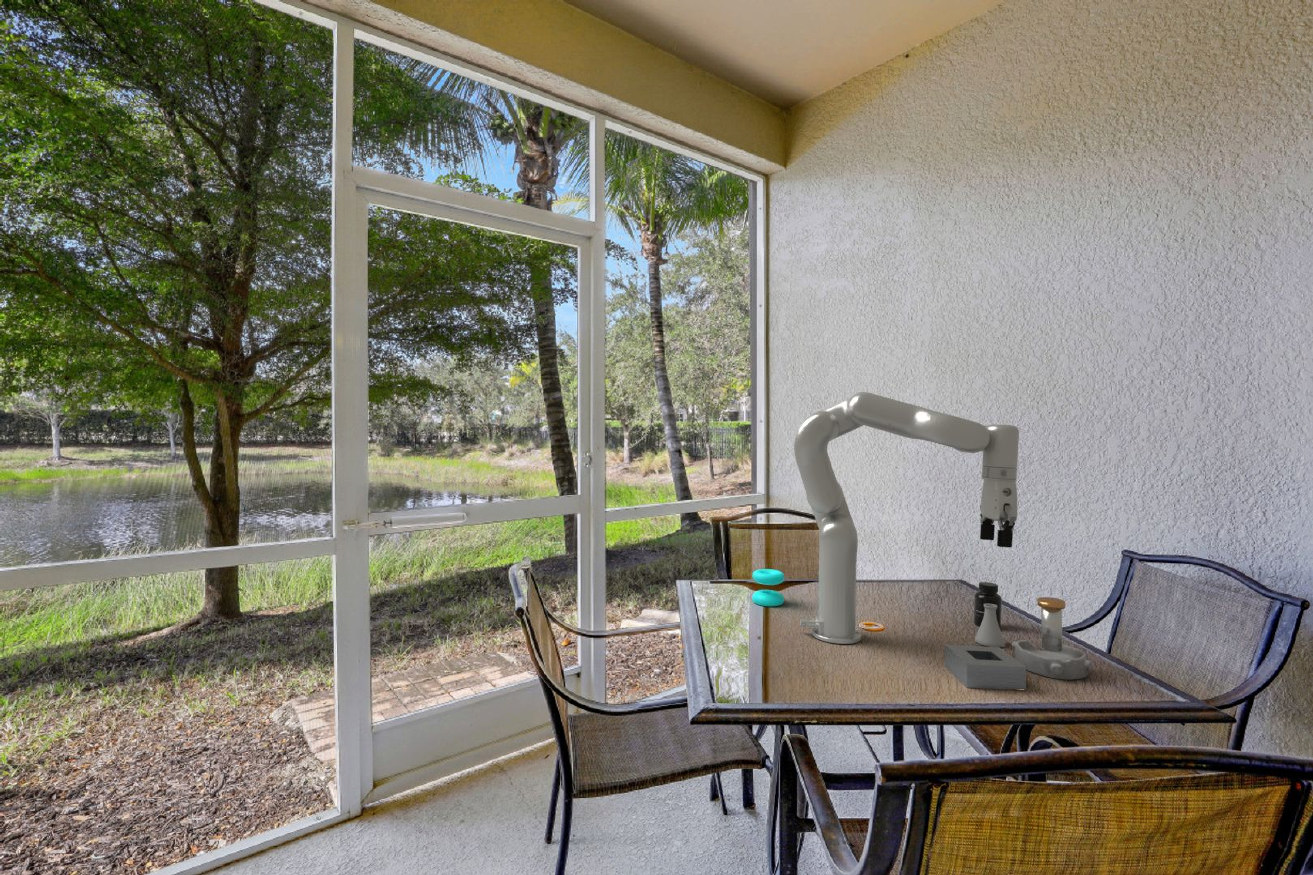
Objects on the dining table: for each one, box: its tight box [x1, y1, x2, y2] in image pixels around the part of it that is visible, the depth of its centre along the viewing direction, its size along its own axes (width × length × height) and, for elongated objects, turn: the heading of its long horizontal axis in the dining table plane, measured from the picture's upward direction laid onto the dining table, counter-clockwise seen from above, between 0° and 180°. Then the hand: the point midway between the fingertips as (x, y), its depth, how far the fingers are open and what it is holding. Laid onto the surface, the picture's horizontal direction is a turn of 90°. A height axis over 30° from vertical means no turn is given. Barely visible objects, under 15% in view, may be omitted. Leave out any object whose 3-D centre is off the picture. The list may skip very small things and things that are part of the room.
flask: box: [974, 604, 1006, 648], centre depth 157 cm, size 7×7×10 cm
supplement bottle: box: [973, 581, 1003, 629], centre depth 172 cm, size 7×7×12 cm
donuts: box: [751, 568, 785, 608], centre depth 192 cm, size 10×10×10 cm
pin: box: [1036, 596, 1066, 652], centre depth 140 cm, size 5×5×11 cm
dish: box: [1011, 639, 1093, 681], centre depth 140 cm, size 14×14×5 cm
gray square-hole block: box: [944, 644, 1027, 691], centre depth 135 cm, size 12×12×5 cm
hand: (995, 543), depth 151 cm, fingers open, 9 cm apart
